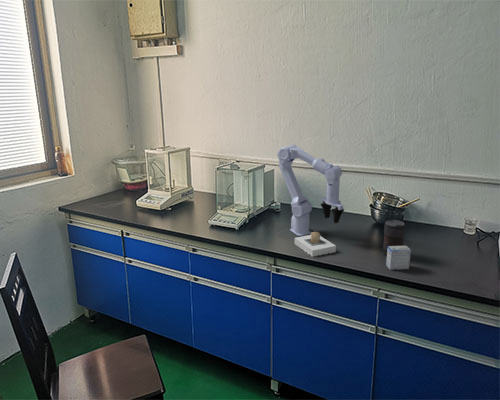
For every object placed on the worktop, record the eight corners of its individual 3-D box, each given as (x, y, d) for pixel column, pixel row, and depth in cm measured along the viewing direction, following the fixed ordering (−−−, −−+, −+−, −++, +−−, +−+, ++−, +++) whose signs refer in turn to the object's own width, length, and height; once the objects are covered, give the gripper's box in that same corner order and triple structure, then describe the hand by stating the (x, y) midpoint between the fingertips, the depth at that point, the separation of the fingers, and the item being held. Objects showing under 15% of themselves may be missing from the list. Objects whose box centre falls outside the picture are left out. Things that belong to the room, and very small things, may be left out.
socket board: (294, 243, 188) (294, 237, 187) (316, 239, 192) (316, 233, 191) (312, 256, 174) (312, 249, 173) (335, 252, 178) (336, 245, 177)
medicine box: (404, 264, 165) (406, 245, 163) (409, 269, 161) (411, 249, 158) (385, 265, 165) (387, 245, 162) (389, 270, 161) (391, 250, 158)
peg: (308, 247, 184) (309, 232, 182) (316, 245, 186) (316, 231, 184) (314, 250, 181) (314, 235, 179) (321, 248, 182) (321, 234, 180)
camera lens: (378, 253, 176) (380, 221, 172) (393, 250, 179) (396, 218, 175) (390, 260, 169) (393, 227, 165) (405, 257, 172) (409, 224, 167)
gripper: (349, 195, 180) (347, 223, 184) (331, 187, 193) (330, 214, 197) (336, 197, 178) (334, 226, 182) (318, 189, 190) (317, 216, 194)
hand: (331, 220), depth 189 cm, fingers open, 7 cm apart
